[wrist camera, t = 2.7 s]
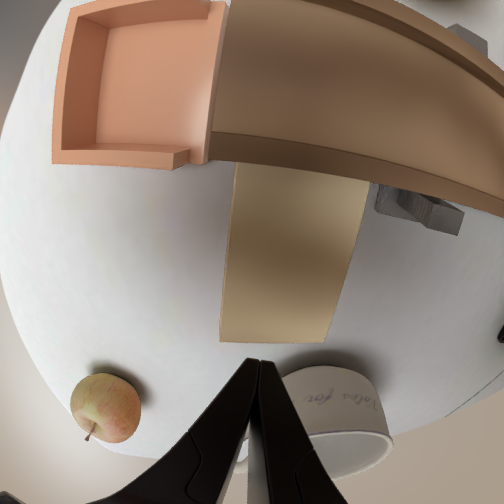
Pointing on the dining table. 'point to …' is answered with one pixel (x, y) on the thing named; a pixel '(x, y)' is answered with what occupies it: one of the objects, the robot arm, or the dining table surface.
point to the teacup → (338, 419)
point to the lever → (338, 145)
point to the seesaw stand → (420, 205)
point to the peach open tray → (138, 83)
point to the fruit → (106, 407)
